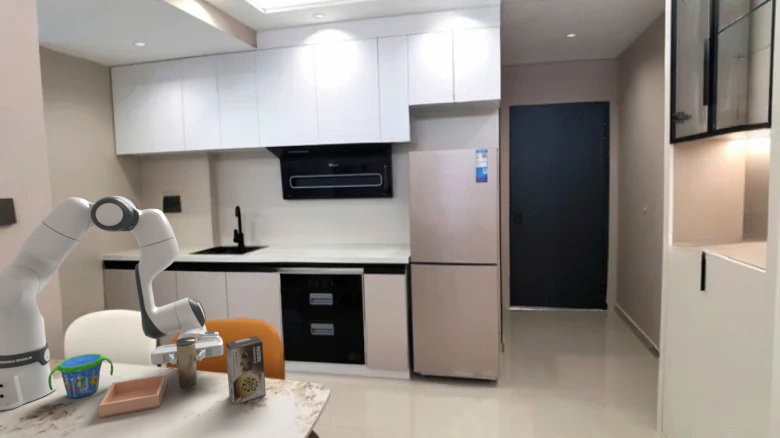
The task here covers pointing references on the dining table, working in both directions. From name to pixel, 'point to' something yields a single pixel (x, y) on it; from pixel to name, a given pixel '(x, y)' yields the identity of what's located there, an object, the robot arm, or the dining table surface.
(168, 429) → the dining table surface
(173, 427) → the dining table surface
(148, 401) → the terracotta tray
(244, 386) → the coffee box
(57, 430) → the dining table surface
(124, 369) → the dining table surface
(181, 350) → the bronze tin
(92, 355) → the snack cup
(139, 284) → the robot arm
